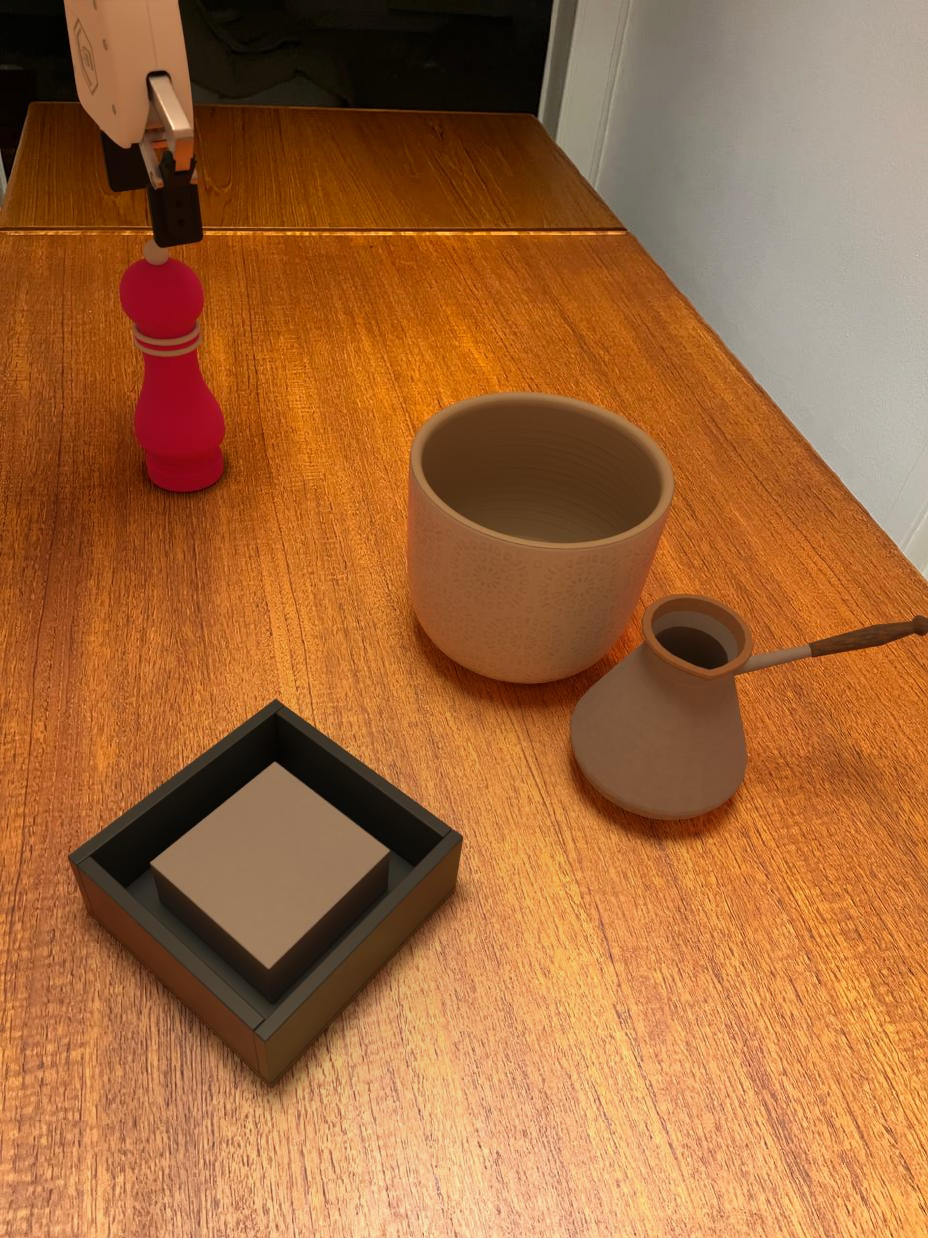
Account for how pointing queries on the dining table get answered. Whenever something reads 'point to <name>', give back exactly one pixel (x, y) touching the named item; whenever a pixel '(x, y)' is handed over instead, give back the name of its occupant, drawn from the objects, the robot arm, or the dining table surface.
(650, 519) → the planter
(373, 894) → the brown square block
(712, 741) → the coffee pot
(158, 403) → the pepper mill
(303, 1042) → the dark square tray
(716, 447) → the dining table surface
